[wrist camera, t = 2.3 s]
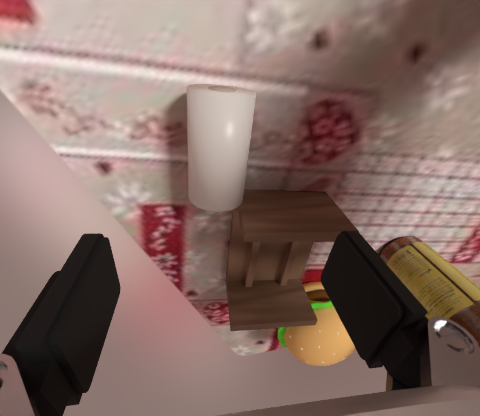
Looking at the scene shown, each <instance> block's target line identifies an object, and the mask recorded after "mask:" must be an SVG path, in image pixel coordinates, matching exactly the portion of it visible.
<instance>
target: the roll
mask: <svg viewBox="0 0 480 416" xmlns="http://www.w3.org/2000/svg"><path fill="white" fill-rule="evenodd" d="M255 100H256V93H255V92H253V91H250V90H247V89H242V88H237V87H231V86H222V85H211V84H194V85H188V86H187V135H188V197H189V200H190V202H191V203H192V204H193V205H194V206H196V207H198V208H200V209H203V210H206V211H212V212H224V211H229V210H233V209H235V208H237V207H239V206H240V205H241V203H242V201H243V195H244V187H245V179H246V171H247V163H248V155H249V148H250V140H251V132H252V124H253V116H254V108H255Z"/></svg>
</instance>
